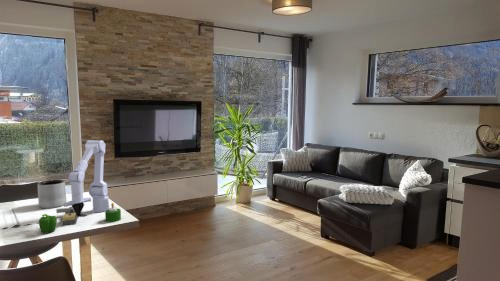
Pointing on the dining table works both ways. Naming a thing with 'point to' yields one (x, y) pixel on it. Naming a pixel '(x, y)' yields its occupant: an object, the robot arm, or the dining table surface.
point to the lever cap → (69, 216)
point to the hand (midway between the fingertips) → (78, 216)
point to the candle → (113, 214)
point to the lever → (65, 210)
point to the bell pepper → (47, 223)
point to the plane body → (69, 222)
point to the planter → (51, 193)
